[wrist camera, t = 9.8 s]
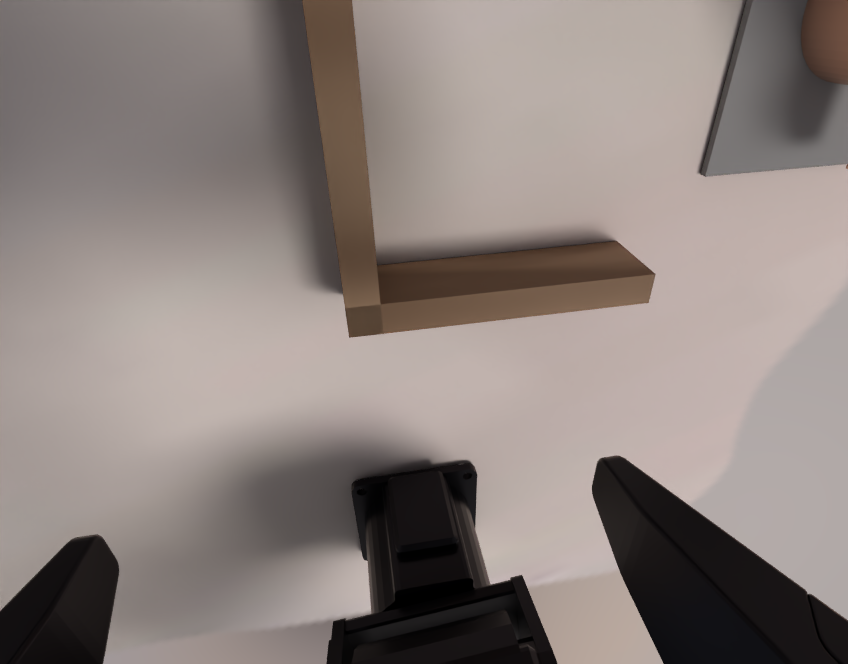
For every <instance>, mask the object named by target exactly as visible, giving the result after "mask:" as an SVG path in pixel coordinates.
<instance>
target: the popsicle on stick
mask: <svg viewBox="0 0 848 664" xmlns="http://www.w3.org/2000/svg"><path fill="white" fill-rule="evenodd" d="M801 46H802V51H803V56H804V59H805V61H806V64H807V65H808V67H809V68H810V70H811V71H812V72H813V73H814V74H815V75H816V76H817V77H819V78H820V79H822V80H825V81H827V82H831V83H837V84H842V85H848V0H808V2H807V4H806V8H805V12H804V16H803V21H802V28H801ZM846 169H848V164H847V166H846Z"/></svg>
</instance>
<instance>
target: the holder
mask: <svg viewBox="0 0 848 664" xmlns="http://www.w3.org/2000/svg"><path fill="white" fill-rule="evenodd" d="M302 3H303V10H304V17H305V24H306V32H307V39H308V46H309V53H310V60H311V67H312V74H313V82H314V89H315V96H316V103H317V110H318V117H319V125H320V132H321V139H322V146H323V153H324V160H325V167H326V175H327V182H328V189H329V196H330V203H331V210H332V218H333V225H334V232H335V239H336V246H337V253H338V261H339V268H340V275H341V282H342V289H343V296H344V303H345V311H346V318H347V325H348V332H349V338H350V337H359V336H367V335H376V334H384V333H393V332H402V331H410V330H419V329H427V328H436V327H445V326H453V325H462V324H470V323H479V322H487V321H496V320H505V319H513V318H522V317H530V316H539V315H548V314H556V313H565V312H573V311H582V310H590V309H599V308H608V307H616V306H625V305H633V304H642V303H649V299H650V295H651V291H652V286H653V282H654V278H655V273H653V272H652V271H651V270H650V269H649V268H648V267H646V266H645V265H644V264H643V263H642V262H641V261H639V260H638V259H637V258H636V257H635V256H634V255H632V254H631V253H630V252H629V251H628V250H627V249H625V248H624V247H623V246H622V245H621V244H620V243H618V242H617V241H613V242H604V243H594V244H584V245H574V246H564V247H554V248H544V249H535V250H525V251H515V252H505V253H495V254H485V255H475V256H466V257H456V258H446V259H436V260H426V261H416V262H406V263H397V264H387V265H377V262H376V251H375V240H374V230H373V219H372V209H371V198H370V188H369V177H368V166H367V156H366V145H365V135H364V124H363V114H362V103H361V92H360V82H359V71H358V61H357V50H356V40H355V29H354V18H353V8H352V0H302Z"/></svg>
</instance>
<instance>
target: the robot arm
mask: <svg viewBox="0 0 848 664" xmlns="http://www.w3.org/2000/svg"><path fill="white" fill-rule="evenodd" d="M465 473H466V474H465ZM476 488H477V473H476V470H475V467H474V466H473V465H472V464H461V465H454V466H447V467H440V468H433V469H427V470H420V471H413V472H406V473H400V474H393V475H386V476H379V477H372V478H366V479H360V480H356V481H355V482H353V484H352V497H353V503H354V509H355V515H356V521H357V526H358V532H359V538H360V544H361V550H362V556H363V559H364V560H366V561H368V573H369V587H370V600H371V614H370V615H365V616H361V617H357V618H353V619H349V620H346V618H344V619H340V620H336V621H333V628H332V638H331V640H329V645H328V654H327V664H557V661H556V658H555V656H554V654H553V650H552V648H551V646H550V643H549V640H548V638H547V636H546V633H545V631H544V628H543V626H542V623H541V621H540V618H539V616H538V613H537V611H536V608H535V606H534V604H533V601H532V598H531V596H530V594H529V591H528V589H527V586H526V584H525V581H524V579H523V576H522V575H519V576H515V577H511V578H510V579H511V580H508V581H504V582H500V583H496V584H492V585H490V581H489V578H488V574H487V570H486V567H485V563H484V560H483V556H482V552H481V549H480V545H479V542H478V538H477V534H476V531H475V517H476ZM592 494H593V498H594V501H595V504H596V507H597V509H598V512H599V515H600V518H601V520H602V523H603V526H604V529H605V532H606V534H607V537H608V540H609V543H610V546H611V548H612V551H613V554H614V557H615V560H616V562H617V565H618V567H619V570H620V573H621V575H622V577H623V580H624V582H625V584H626V586H627V588H628V590H629V593H630V595H631V596H632V599H633V601H634V603H635V605H636V607H637V609H638V611H639V613H640V615H641V617H642V620H643V621H644V624H645V626H646V628H647V630H648V632H649V634H650V636H651V638H652V640H653V642H654V644H655V647H656V648H657V650H658V653H659V655H660V657H661V659H662V661H663V663H664V664H848V620H847V619H845V618H844V617H842V616H841V615H840V614H838V613H837V612H835V611H834V610H832V609H831V608H829V607H828V606H827V605H826V604H824V603H823V602H821V601H820V600H819V599H817V598H816V597H815V596H813V595H812V594H807V592H806V590H805V589H803V588H802V587H800V586H799V585H798V584H797V583H795V582H794V581H792V580H791V579H790V578H788V577H787V576H785V575H784V574H783V573H781V572H780V571H779V570H777V569H776V568H775V567H773V566H772V565H770V564H769V563H767V562H766V561H765V560H764V559H762V558H761V557H759V556H758V555H757V554H755V553H754V552H752V551H751V550H750V549H748V548H747V547H746V546H744V545H743V544H742V543H740V542H739V541H737V540H736V539H735V538H733V537H732V536H730V535H729V534H728V533H726V532H725V531H724V530H722V529H721V528H720V527H718V526H717V525H715V524H714V523H713V522H711V521H710V520H709V519H707V518H706V517H705V516H703V515H702V514H700V513H699V512H698V511H696V510H695V509H693V508H692V507H691V506H689V505H688V504H687V503H685V502H684V501H683V500H681V499H680V498H678V497H677V496H676V495H674V494H673V493H672V492H670V491H669V490H667V489H666V488H665V487H663V486H662V485H661V484H659V483H658V482H656V481H655V480H654V479H652V478H651V477H650V476H648V475H647V474H645V473H644V472H643V471H641V470H640V469H639V468H637V467H636V466H634V465H633V464H632V463H630V462H629V461H628V460H626V459H625V458H623V457H621V456H611V457H604V458H600V459H599V461H598V462H597V466H596V471H595V475H594V480H593V484H592ZM118 576H119V565H118V562H117V559H116V558H115V556H114V555H113V553H112V551H111V550H110V548H109V547H108V545H107V544H106V542H105V540H104V539H103V538H102V537H101V536H99V535H89V536H82V537H77V538H74V539H72V540H70V541H69V542H68V543H67V544H66V545H65V546H64V547H63V548H62V549H61V550H60V551H59V552H58V553H57V554H56V555H55V556H54V557H53V558H52V559H51V560H50V561H49V562H48V563H47V564H46V565H45V566H44V567H43V568H42V569H41V570H40V571H39V572H38V573H37V574H36V575H35V576H34V577H33V578H32V579H31V580H30V581H29V582H28V583H27V584H26V585H25V586H24V587H23V588H22V589H21V590H20V591H19V592H18V593H17V594H16V595H15V596H14V597H13V599H12V600H11V601H10V602H9V603H8V604H7V605H6V606H5V607H4V608H3V609H2V610H1V611H0V664H103V661H104V656H105V651H106V645H107V639H108V633H109V628H110V622H111V616H112V611H113V605H114V599H115V593H116V588H117V582H118Z"/></svg>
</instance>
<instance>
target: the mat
mask: <svg viewBox="0 0 848 664" xmlns="http://www.w3.org/2000/svg"><path fill="white" fill-rule="evenodd" d="M807 2H808V0H747V1H746V5H745V9H744V13H743V16H742V20H741V24H740V28H739V32H738V35H737V39H736V43H735V47H734V50H733V54H732V58H731V62H730V66H729V69H728V73H727V77H726V81H725V84H724V88H723V92H722V96H721V100H720V103H719V107H718V111H717V115H716V118H715V122H714V126H713V130H712V134H711V137H710V141H709V145H708V149H707V152H706V156H705V160H704V164H703V167H702V171H701V175H703V176H705V177H706V176H717V175H728V174H740V173H751V172H762V171H773V170H785V169H796V168H807V167H819V166H830V165H841V164H848V85H842V84H837V83H831V82H827V81H825V80H822V79H820V78H819V77H817V76H816V75H815V74H814V73H813V72H812V71H811V70H810V68H809V67H808V65H807V64H806V61H805V59H804V56H803V51H802V46H801V28H802V21H803V16H804V12H805V8H806V4H807Z"/></svg>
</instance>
